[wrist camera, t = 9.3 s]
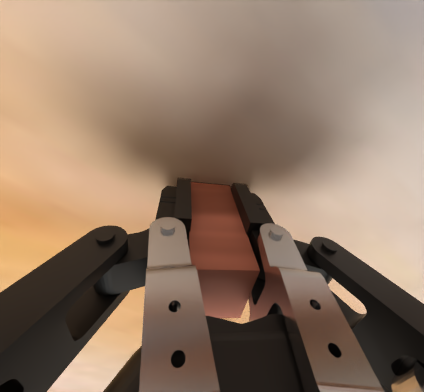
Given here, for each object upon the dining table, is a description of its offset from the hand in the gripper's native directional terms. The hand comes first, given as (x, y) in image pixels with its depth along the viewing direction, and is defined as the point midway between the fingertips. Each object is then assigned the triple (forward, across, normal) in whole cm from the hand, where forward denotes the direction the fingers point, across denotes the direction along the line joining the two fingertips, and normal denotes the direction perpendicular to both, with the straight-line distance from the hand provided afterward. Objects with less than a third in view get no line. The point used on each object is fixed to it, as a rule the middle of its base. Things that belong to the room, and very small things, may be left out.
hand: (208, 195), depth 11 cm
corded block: (+1, 0, +10) cm, 10 cm away
